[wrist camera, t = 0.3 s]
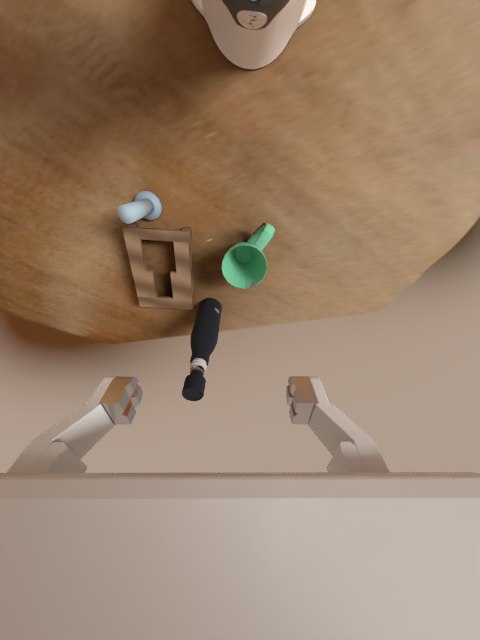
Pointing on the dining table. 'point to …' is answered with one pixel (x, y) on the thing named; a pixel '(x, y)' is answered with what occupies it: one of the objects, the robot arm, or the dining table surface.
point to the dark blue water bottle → (202, 347)
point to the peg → (141, 208)
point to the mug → (247, 259)
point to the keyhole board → (179, 279)
